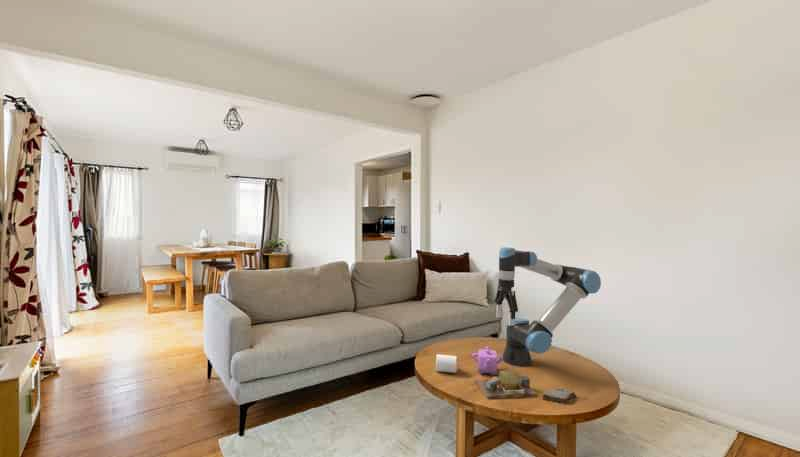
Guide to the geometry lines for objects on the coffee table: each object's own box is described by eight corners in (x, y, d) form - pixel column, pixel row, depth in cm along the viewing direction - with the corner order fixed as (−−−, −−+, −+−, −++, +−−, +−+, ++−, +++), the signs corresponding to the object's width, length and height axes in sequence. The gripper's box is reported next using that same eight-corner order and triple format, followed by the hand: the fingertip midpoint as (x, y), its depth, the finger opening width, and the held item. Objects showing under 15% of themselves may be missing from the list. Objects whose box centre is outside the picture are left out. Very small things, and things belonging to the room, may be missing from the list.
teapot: (466, 368, 188) (467, 347, 187) (486, 363, 194) (487, 343, 194) (487, 380, 175) (488, 357, 174) (507, 374, 181) (508, 353, 181)
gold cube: (511, 383, 169) (511, 370, 169) (517, 389, 163) (517, 376, 163) (498, 383, 168) (499, 371, 168) (504, 390, 162) (505, 376, 162)
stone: (559, 390, 166) (559, 384, 166) (577, 398, 160) (577, 391, 160) (540, 399, 158) (541, 392, 157) (558, 408, 151) (559, 400, 151)
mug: (455, 375, 178) (456, 359, 178) (435, 373, 180) (436, 357, 180) (457, 366, 190) (457, 351, 190) (437, 364, 192) (438, 349, 192)
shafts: (526, 383, 169) (526, 375, 169) (533, 390, 163) (533, 381, 163) (481, 385, 165) (482, 377, 165) (487, 392, 159) (487, 383, 159)
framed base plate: (520, 380, 175) (520, 375, 174) (537, 396, 160) (537, 390, 160) (474, 383, 171) (474, 377, 171) (487, 398, 156) (487, 392, 156)
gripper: (488, 274, 192) (487, 314, 193) (511, 283, 168) (510, 329, 169) (502, 274, 194) (501, 314, 194) (526, 283, 169) (525, 328, 170)
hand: (505, 321), depth 181 cm, fingers open, 13 cm apart
